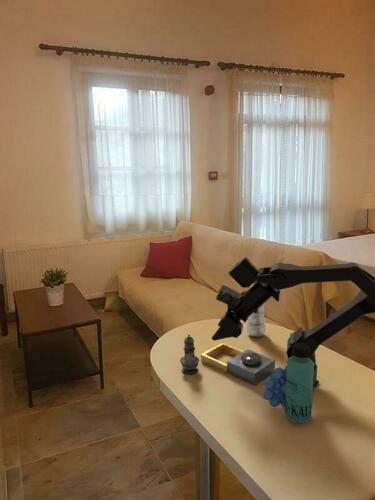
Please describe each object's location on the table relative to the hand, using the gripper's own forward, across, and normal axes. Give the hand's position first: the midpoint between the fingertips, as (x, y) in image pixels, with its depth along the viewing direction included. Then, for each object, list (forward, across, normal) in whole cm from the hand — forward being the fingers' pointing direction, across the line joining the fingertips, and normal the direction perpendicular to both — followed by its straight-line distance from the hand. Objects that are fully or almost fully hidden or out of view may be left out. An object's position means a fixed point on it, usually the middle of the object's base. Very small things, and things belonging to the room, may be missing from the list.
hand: (215, 332), depth 114 cm
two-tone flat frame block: (+6, -5, +13) cm, 15 cm away
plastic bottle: (+3, -28, +16) cm, 32 cm away
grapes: (-4, +11, +24) cm, 26 cm away
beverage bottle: (-7, +16, +26) cm, 32 cm away
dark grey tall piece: (+15, 0, +4) cm, 16 cm away
